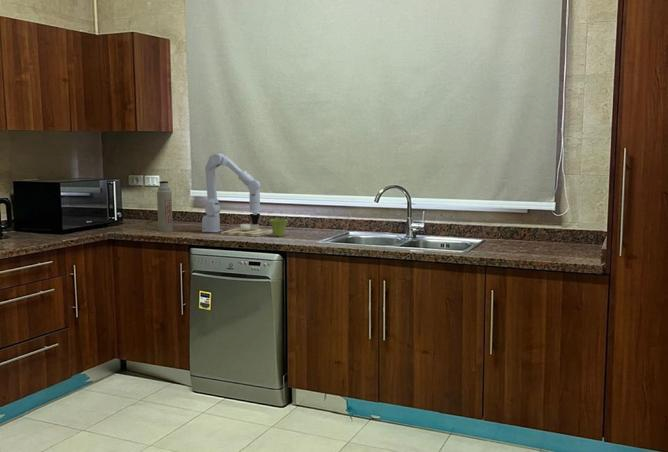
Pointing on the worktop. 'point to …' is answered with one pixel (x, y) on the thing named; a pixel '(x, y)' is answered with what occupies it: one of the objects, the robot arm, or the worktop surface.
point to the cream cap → (248, 226)
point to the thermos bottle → (164, 207)
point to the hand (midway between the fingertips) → (255, 226)
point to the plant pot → (278, 226)
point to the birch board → (246, 232)
